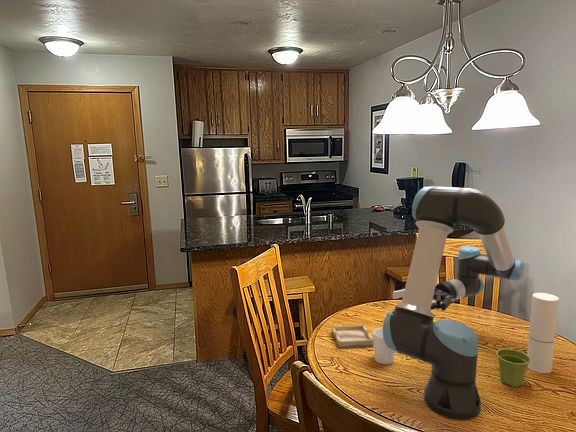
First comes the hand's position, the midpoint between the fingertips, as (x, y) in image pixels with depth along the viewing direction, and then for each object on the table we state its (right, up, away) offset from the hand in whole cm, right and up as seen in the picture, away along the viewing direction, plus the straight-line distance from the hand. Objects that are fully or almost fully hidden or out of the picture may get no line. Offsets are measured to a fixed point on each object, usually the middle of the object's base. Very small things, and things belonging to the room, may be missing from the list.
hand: (406, 301), depth 142 cm
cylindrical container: (+41, -20, -9) cm, 47 cm away
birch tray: (-17, -17, +12) cm, 27 cm away
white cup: (-9, -20, -3) cm, 22 cm away
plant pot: (+28, -22, -17) cm, 39 cm away
